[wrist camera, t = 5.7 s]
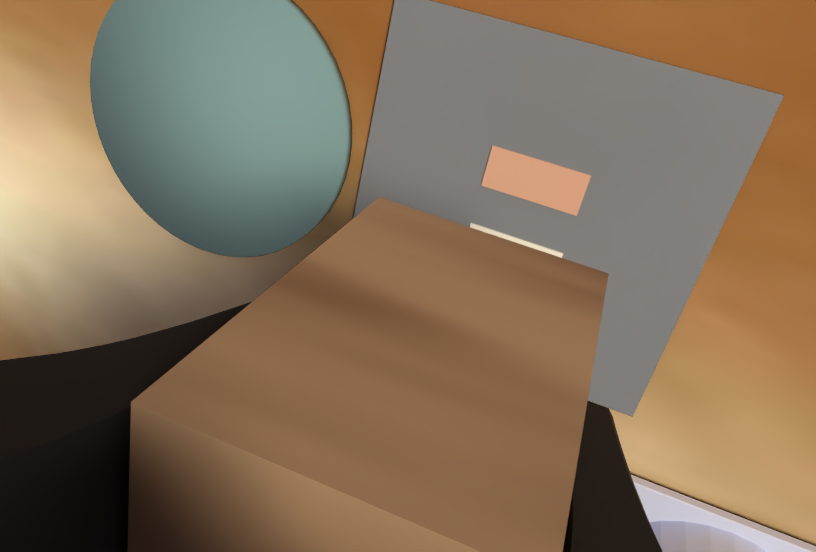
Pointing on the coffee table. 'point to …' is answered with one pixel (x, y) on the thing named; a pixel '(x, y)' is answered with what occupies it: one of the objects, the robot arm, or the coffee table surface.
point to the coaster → (222, 119)
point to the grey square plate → (566, 161)
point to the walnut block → (377, 402)
